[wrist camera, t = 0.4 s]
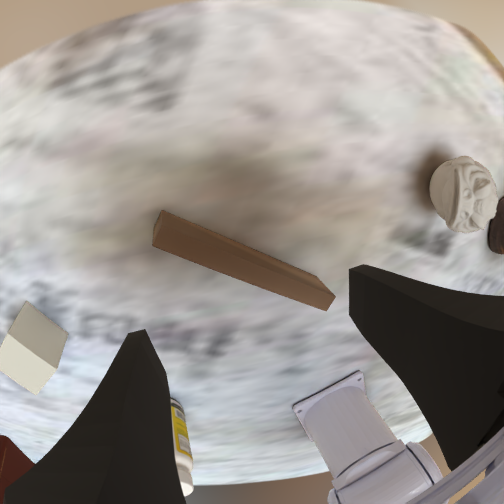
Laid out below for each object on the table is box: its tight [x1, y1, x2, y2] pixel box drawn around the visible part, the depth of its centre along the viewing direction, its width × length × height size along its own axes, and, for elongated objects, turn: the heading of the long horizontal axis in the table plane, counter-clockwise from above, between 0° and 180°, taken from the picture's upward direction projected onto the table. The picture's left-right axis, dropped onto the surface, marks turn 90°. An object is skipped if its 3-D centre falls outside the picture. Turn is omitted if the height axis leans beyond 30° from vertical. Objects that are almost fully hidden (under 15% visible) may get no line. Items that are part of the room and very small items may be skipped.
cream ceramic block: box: [0, 301, 68, 395], centre depth 17 cm, size 4×4×4 cm
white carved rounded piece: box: [429, 156, 498, 233], centre depth 19 cm, size 6×7×7 cm
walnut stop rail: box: [152, 210, 336, 311], centre depth 19 cm, size 1×12×3 cm, turn 61°
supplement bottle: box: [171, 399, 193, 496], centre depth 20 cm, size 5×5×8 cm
